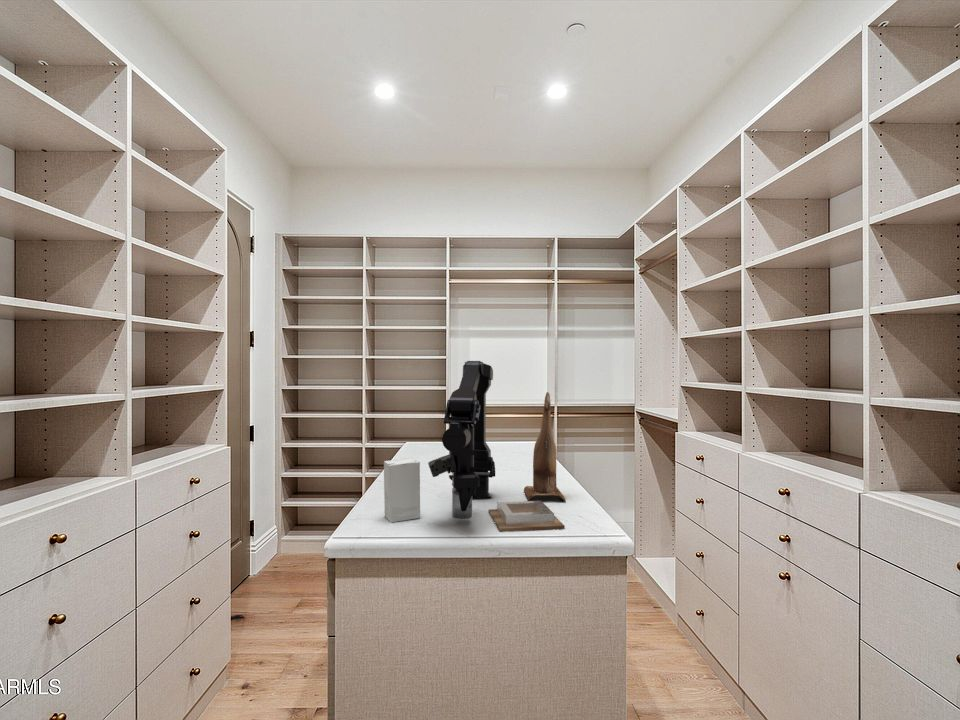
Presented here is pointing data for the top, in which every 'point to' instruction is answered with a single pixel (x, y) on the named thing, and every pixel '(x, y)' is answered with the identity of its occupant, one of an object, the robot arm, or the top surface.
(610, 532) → the top surface
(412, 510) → the skincare box
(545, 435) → the bird sculpture
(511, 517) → the grey square tray
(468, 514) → the cylinder
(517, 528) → the walnut board
